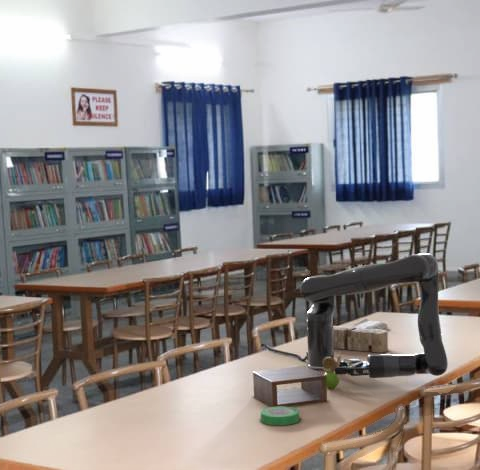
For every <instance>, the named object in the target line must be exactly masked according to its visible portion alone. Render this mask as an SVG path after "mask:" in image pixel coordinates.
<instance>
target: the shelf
mask: <svg viewBox="0 0 480 470" xmlns="http://www.w3.org/2000/svg"><path fill="white" fill-rule="evenodd" d="M324 374H325V373H324ZM324 374H323V373H321V372H319V371H317V370H316V369H311V368H309V367H308V366H306V365H299V366H291V367H290V366H289V367H281V368H272V369H264V370H256V371H252V378H253V379H252V380H253V397H254V398H255V399H256V400H259V401H260V402H261V403H264V404H265V405H267V406H268V407H276V406H286V407H295V406H304V405H311V404H320V403H327V402H328V391H327V390H328V389H327V385H326V375H324ZM297 383H298V384H299V383H300V388H299V387H298V388H291V389H282V390H278V386H282V385H291V384H297Z"/></svg>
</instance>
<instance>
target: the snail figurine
mask: <svg viewBox="0 0 480 470" xmlns="http://www.w3.org/2000/svg"><path fill="white" fill-rule="evenodd" d="M341 354H342V351H339V354H337V356H336V359H337V360H336V359H335V358H332V357H326V358H324V359H323V361H322V365H323V367H324V368H325V369H324V368H323V371H324V372H325V373H324V375H326V385H327V388H328V389H334V388H337V386H338V385H339V383H340V377H339V374H335V368H336V367H339V366H340V361H342V355H341ZM336 362H337V363H336Z"/></svg>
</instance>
